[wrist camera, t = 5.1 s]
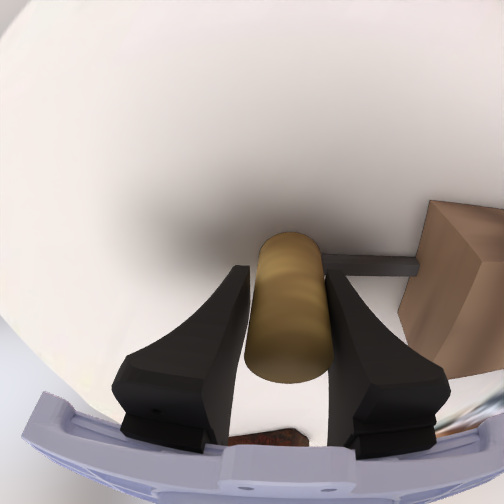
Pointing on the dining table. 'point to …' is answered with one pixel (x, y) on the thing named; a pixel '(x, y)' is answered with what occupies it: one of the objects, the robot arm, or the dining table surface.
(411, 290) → the wooden mallet
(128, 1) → the dining table surface
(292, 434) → the brick
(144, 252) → the dining table surface
